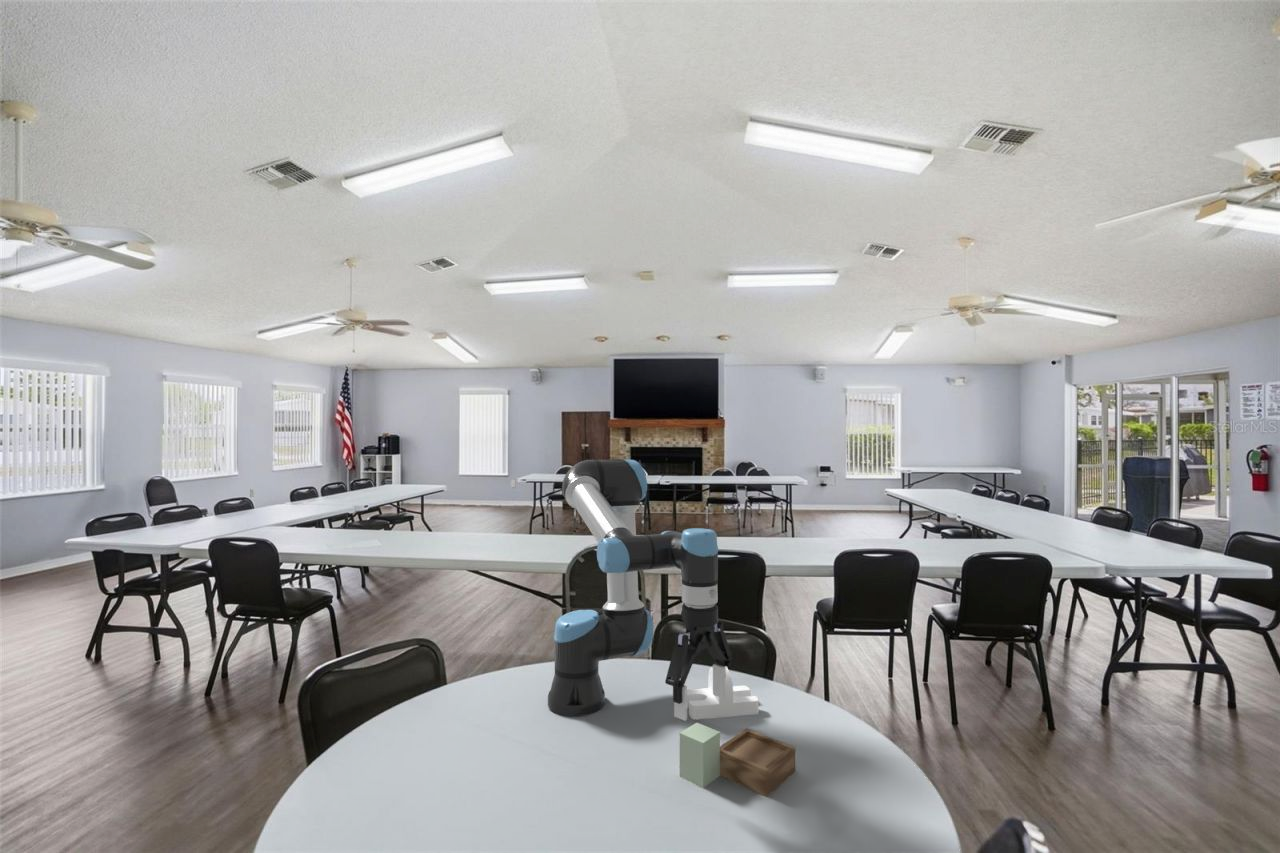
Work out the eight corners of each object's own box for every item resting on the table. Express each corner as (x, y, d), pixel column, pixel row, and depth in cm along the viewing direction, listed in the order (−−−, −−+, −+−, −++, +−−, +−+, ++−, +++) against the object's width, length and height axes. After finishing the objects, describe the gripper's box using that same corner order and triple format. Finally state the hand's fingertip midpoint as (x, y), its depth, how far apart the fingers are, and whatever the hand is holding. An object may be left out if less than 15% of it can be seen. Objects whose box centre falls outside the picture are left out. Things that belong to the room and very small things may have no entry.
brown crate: (716, 773, 122) (716, 749, 122) (746, 750, 131) (746, 728, 131) (766, 796, 114) (766, 771, 114) (795, 771, 123) (795, 747, 123)
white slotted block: (682, 703, 154) (682, 662, 155) (746, 698, 158) (746, 658, 158) (692, 720, 145) (692, 677, 145) (760, 715, 148) (759, 672, 148)
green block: (679, 776, 120) (679, 732, 121) (696, 764, 125) (696, 722, 125) (703, 788, 116) (703, 743, 117) (719, 775, 121) (719, 731, 121)
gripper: (677, 620, 110) (677, 734, 109) (746, 595, 128) (747, 692, 128) (647, 613, 115) (647, 722, 114) (718, 589, 133) (719, 683, 133)
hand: (700, 706), depth 121 cm, fingers open, 13 cm apart
